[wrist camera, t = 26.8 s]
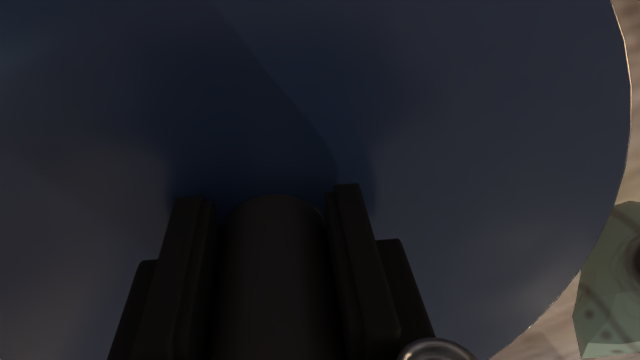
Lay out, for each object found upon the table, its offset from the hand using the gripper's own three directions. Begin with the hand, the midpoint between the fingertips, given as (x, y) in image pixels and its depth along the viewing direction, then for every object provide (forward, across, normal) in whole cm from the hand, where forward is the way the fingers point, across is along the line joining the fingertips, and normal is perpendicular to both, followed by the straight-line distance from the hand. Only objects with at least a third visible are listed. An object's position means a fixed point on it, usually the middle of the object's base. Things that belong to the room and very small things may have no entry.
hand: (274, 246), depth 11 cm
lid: (+1, 0, 0) cm, 1 cm away
